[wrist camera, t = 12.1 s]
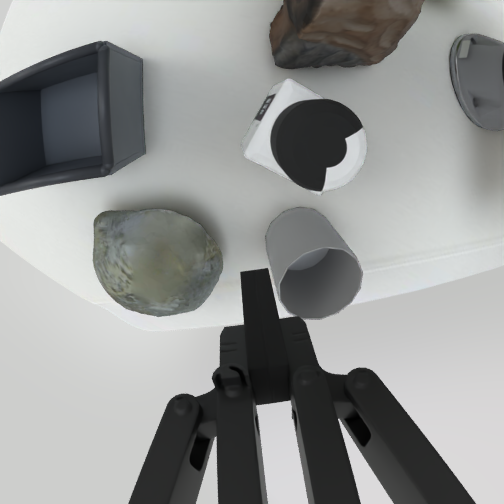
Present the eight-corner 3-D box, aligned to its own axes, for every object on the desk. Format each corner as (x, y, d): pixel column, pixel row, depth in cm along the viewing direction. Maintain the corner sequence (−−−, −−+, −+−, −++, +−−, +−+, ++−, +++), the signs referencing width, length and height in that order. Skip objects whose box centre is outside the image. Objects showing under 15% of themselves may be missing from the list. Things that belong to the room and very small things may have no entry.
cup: (275, 276, 37) (289, 329, 28) (256, 220, 33) (266, 265, 24) (336, 256, 36) (365, 303, 27) (324, 198, 32) (358, 235, 23)
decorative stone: (225, 263, 39) (210, 334, 35) (125, 241, 38) (105, 306, 35) (232, 214, 26) (208, 321, 23) (92, 188, 26) (57, 278, 22)
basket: (38, 87, 22) (44, 170, 27) (-21, 92, 12) (-10, 199, 18) (147, 58, 23) (150, 153, 28) (108, 36, 13) (113, 176, 19)
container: (239, 145, 29) (246, 170, 17) (273, 84, 26) (305, 67, 14) (300, 177, 31) (343, 221, 19) (334, 120, 28) (397, 132, 16)
